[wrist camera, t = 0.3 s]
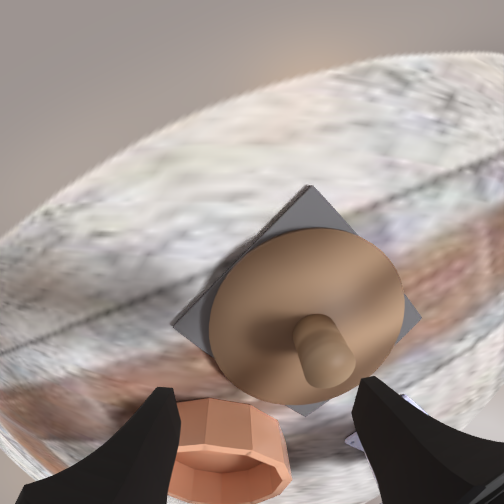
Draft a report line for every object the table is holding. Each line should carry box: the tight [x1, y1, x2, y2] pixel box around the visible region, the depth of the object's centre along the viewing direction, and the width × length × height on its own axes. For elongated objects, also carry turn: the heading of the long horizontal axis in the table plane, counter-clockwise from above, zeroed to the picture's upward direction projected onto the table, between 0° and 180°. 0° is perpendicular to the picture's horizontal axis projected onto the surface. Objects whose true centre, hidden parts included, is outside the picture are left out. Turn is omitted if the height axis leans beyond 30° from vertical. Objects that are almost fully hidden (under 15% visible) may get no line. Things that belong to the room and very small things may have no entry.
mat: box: [173, 185, 422, 417], centre depth 19 cm, size 14×13×1 cm
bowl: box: [167, 398, 292, 504], centre depth 20 cm, size 13×13×5 cm
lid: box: [209, 227, 405, 405], centre depth 17 cm, size 14×14×5 cm
